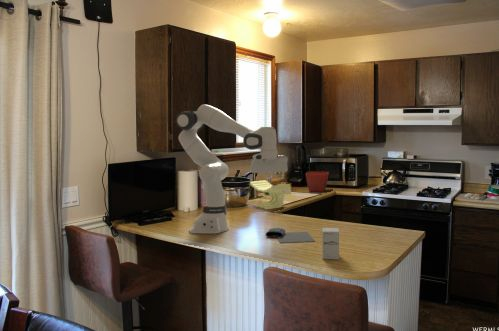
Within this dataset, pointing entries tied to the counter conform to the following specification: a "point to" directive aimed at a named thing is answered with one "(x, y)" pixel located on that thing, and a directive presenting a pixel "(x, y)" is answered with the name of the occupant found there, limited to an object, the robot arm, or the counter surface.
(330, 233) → the supplement box
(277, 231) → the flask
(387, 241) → the counter surface
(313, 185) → the plant pot
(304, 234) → the mat
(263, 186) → the slatted curved stool
